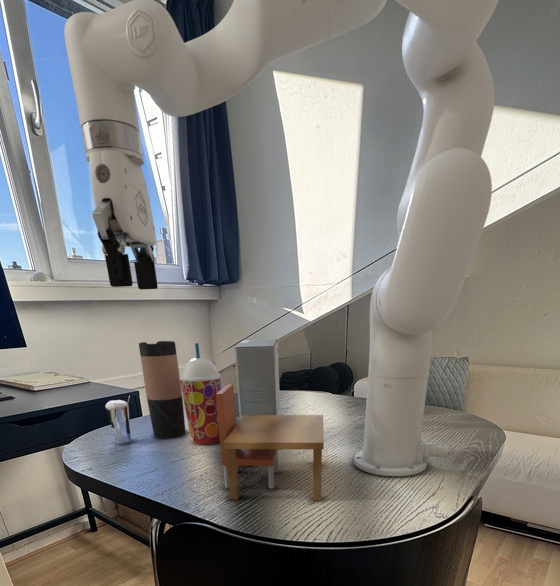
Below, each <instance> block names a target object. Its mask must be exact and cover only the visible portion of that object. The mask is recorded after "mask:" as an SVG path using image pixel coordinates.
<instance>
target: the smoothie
mask: <svg viewBox="0 0 560 586" xmlns="http://www.w3.org/2000/svg"><path fill="white" fill-rule="evenodd" d="M194 347H195V356H196V357H194V358H192V359H190V360H188V361H187V362H186V363H185V365H184V366H183V367H182V369H181V373H180V375H179V376H180V377H179V379H180V383H181V391H182V399H183V405H184V408H185V410H184V411H185V413H186V420H187V425H188V431H189V436H190V438H192V441H193V443H195V444H197V445H212V444H216V443H218V442H220V435H219V424H218V413H217V402H216V393H218V392H219V391H220V390H221V389H222V385H221V384H222V382H221V380H222V379H221V377H222V375H221V373H219V371H218V369H217V367H216V366H215V364H214V363H213V362H212V361H211V360H209V359H206V358H204V357H201V356H200V345H199V343H198V342H195V343H194Z"/></svg>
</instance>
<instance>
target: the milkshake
mask: <svg viewBox="0 0 560 586" xmlns="http://www.w3.org/2000/svg"><path fill="white" fill-rule="evenodd" d="M130 397H131V396H130V395H128V399H127V401H125V400H121V399H117V400H114V399H113V400H109V401H108V402H106V404H105V411H106V414H107V416H108V417H107V418H108V420H109V423H110V426H111V430H112V433H113V437H114V441H115V444H117V445H126V444H130V443H132V434H131V425H130V424H131V423H130V411H129V401H130Z"/></svg>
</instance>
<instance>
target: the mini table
mask: <svg viewBox="0 0 560 586" xmlns="http://www.w3.org/2000/svg"><path fill="white" fill-rule="evenodd" d="M324 440H325V439H324V415H323V414H281V415H243V416H242V418H241V419H240V418H239V421H237V422H236V426H235V427H234V429H233V430H232V432H231V433H230V434H229V436H228V437H227V438H226V440H225V441H224V449H226V457H227V469H228V481H229V488H228V490H229V491H228V492H229V501H231V500H232V501H238V500H239V498H240V487H239V475H238V473H239V472H237V460H236V449H278V450H312V501H313V502H321V501H322V475H323V473H322V471H323V469H322V468H323V450H324V448H325V447H324V446H325V445H324Z"/></svg>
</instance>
